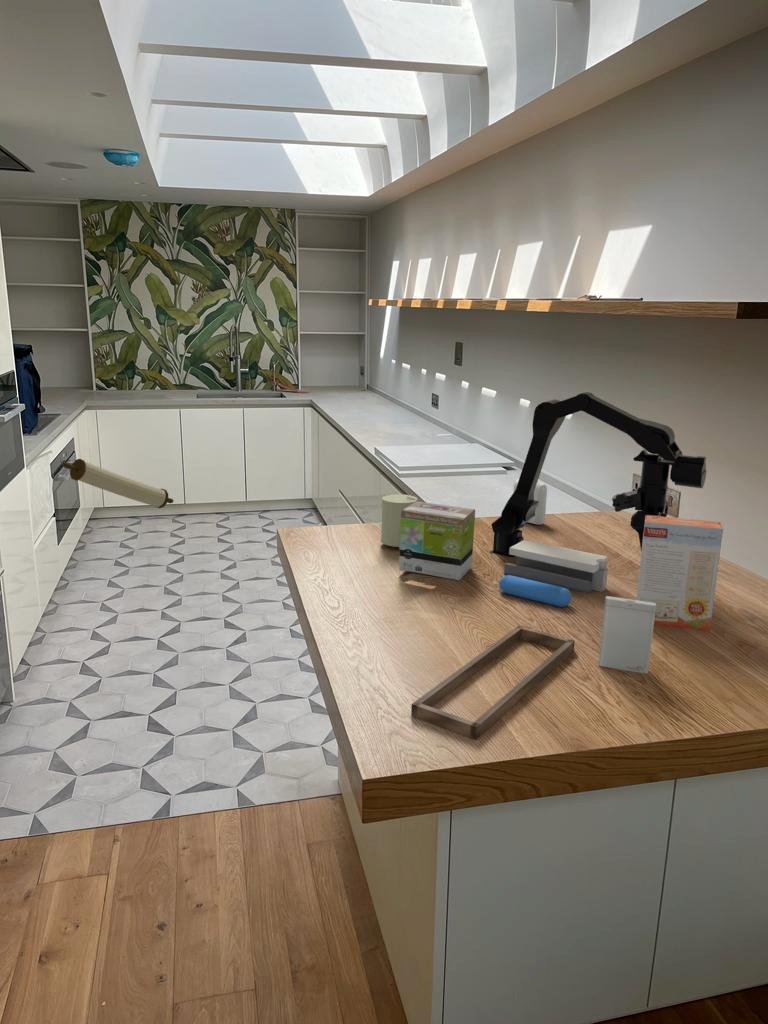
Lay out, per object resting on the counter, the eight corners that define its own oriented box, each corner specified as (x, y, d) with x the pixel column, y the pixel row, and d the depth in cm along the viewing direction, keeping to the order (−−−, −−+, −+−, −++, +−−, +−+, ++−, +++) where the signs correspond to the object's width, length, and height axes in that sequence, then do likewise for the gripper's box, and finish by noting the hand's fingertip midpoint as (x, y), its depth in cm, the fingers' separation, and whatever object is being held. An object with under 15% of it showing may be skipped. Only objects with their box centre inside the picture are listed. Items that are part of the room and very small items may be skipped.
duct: (504, 574, 181) (505, 554, 180) (518, 565, 187) (519, 546, 186) (597, 595, 169) (599, 574, 168) (609, 585, 175) (611, 565, 174)
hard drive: (647, 674, 133) (656, 606, 130) (598, 666, 136) (605, 598, 133) (648, 670, 135) (656, 602, 131) (599, 662, 137) (605, 595, 134)
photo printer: (509, 518, 228) (512, 476, 225) (519, 515, 231) (522, 474, 227) (537, 526, 220) (540, 483, 217) (546, 523, 223) (550, 481, 220)
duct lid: (509, 554, 179) (509, 547, 179) (523, 546, 185) (524, 539, 185) (599, 573, 167) (600, 566, 167) (612, 564, 174) (612, 557, 173)
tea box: (397, 571, 181) (399, 509, 177) (412, 559, 190) (414, 499, 186) (460, 581, 176) (463, 517, 172) (472, 568, 185) (476, 507, 181)
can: (416, 547, 199) (418, 501, 196) (380, 546, 199) (381, 500, 196) (415, 536, 208) (417, 492, 205) (380, 536, 208) (381, 491, 205)
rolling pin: (181, 505, 197) (168, 515, 199) (176, 487, 200) (163, 498, 202) (71, 468, 171) (57, 480, 173) (67, 448, 174) (53, 461, 176)
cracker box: (708, 622, 156) (722, 520, 151) (709, 633, 151) (724, 528, 145) (634, 611, 160) (645, 512, 155) (633, 622, 155) (645, 520, 149)
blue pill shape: (495, 593, 169) (496, 576, 168) (503, 588, 172) (504, 571, 171) (566, 611, 160) (567, 592, 159) (573, 605, 163) (575, 587, 162)
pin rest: (411, 716, 118) (411, 704, 118) (517, 635, 148) (518, 625, 147) (476, 739, 112) (476, 727, 112) (573, 650, 142) (574, 640, 141)
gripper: (623, 470, 186) (616, 534, 190) (609, 486, 170) (603, 555, 174) (672, 476, 182) (665, 540, 186) (664, 492, 166) (656, 563, 170)
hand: (646, 549), depth 179 cm, fingers open, 9 cm apart
